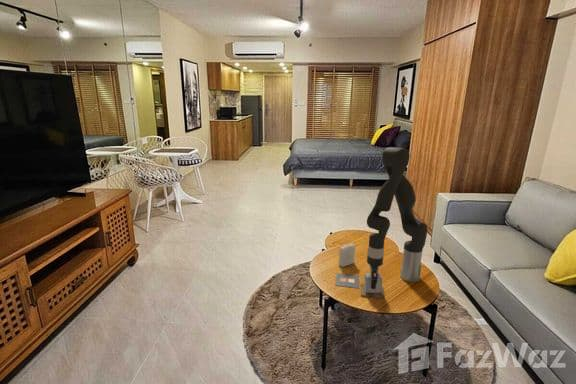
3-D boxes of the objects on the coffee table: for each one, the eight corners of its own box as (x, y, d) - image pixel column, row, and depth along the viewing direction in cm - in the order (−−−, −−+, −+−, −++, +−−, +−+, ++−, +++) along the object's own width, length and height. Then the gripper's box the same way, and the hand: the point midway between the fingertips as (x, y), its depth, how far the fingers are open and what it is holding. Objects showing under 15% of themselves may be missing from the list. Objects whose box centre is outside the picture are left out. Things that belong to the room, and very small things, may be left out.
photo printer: (350, 259, 187) (351, 241, 184) (355, 262, 184) (356, 243, 180) (337, 264, 182) (338, 245, 178) (342, 267, 178) (343, 248, 175)
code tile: (358, 275, 170) (358, 275, 170) (358, 288, 159) (358, 288, 159) (336, 273, 173) (336, 273, 173) (335, 285, 161) (335, 285, 161)
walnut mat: (382, 288, 159) (382, 287, 159) (384, 298, 150) (384, 297, 150) (360, 285, 161) (360, 284, 161) (361, 296, 153) (361, 294, 152)
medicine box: (379, 288, 157) (380, 273, 155) (381, 293, 153) (382, 278, 151) (363, 288, 158) (364, 273, 155) (365, 293, 153) (366, 277, 151)
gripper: (384, 262, 142) (381, 294, 147) (382, 248, 156) (379, 277, 161) (367, 260, 144) (365, 292, 149) (367, 247, 157) (364, 276, 162)
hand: (372, 284), depth 154 cm, fingers open, 6 cm apart
